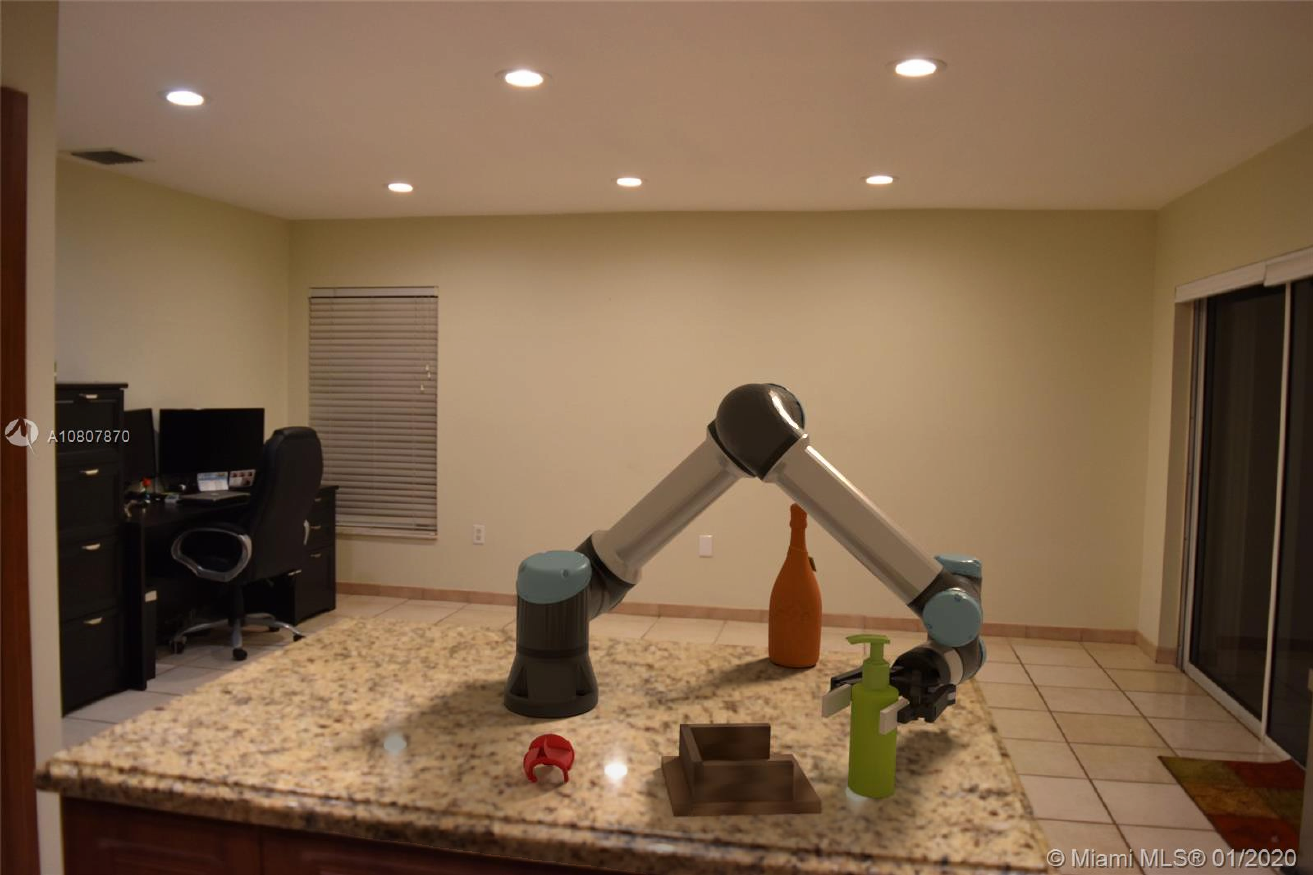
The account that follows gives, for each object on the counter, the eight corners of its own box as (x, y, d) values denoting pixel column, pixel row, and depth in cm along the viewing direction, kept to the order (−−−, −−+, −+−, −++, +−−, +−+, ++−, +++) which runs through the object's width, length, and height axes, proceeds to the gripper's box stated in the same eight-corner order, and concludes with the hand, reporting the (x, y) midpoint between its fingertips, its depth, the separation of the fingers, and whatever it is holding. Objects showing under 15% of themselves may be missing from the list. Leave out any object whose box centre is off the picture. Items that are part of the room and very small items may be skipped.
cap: (580, 766, 114) (584, 727, 119) (535, 754, 113) (541, 714, 117) (558, 800, 118) (562, 761, 123) (514, 788, 117) (521, 749, 122)
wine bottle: (819, 672, 164) (825, 508, 163) (765, 667, 166) (770, 505, 165) (820, 656, 174) (826, 501, 172) (769, 652, 176) (774, 498, 174)
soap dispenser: (834, 778, 120) (840, 629, 119) (885, 778, 120) (891, 629, 119) (847, 798, 114) (854, 642, 113) (901, 798, 115) (908, 642, 113)
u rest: (673, 816, 108) (675, 767, 108) (661, 766, 122) (662, 723, 122) (821, 813, 110) (822, 765, 110) (791, 764, 124) (793, 721, 123)
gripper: (995, 715, 124) (929, 767, 107) (861, 682, 137) (782, 723, 119) (998, 661, 124) (932, 705, 106) (863, 633, 137) (784, 667, 119)
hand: (852, 715), depth 113 cm, fingers open, 7 cm apart
